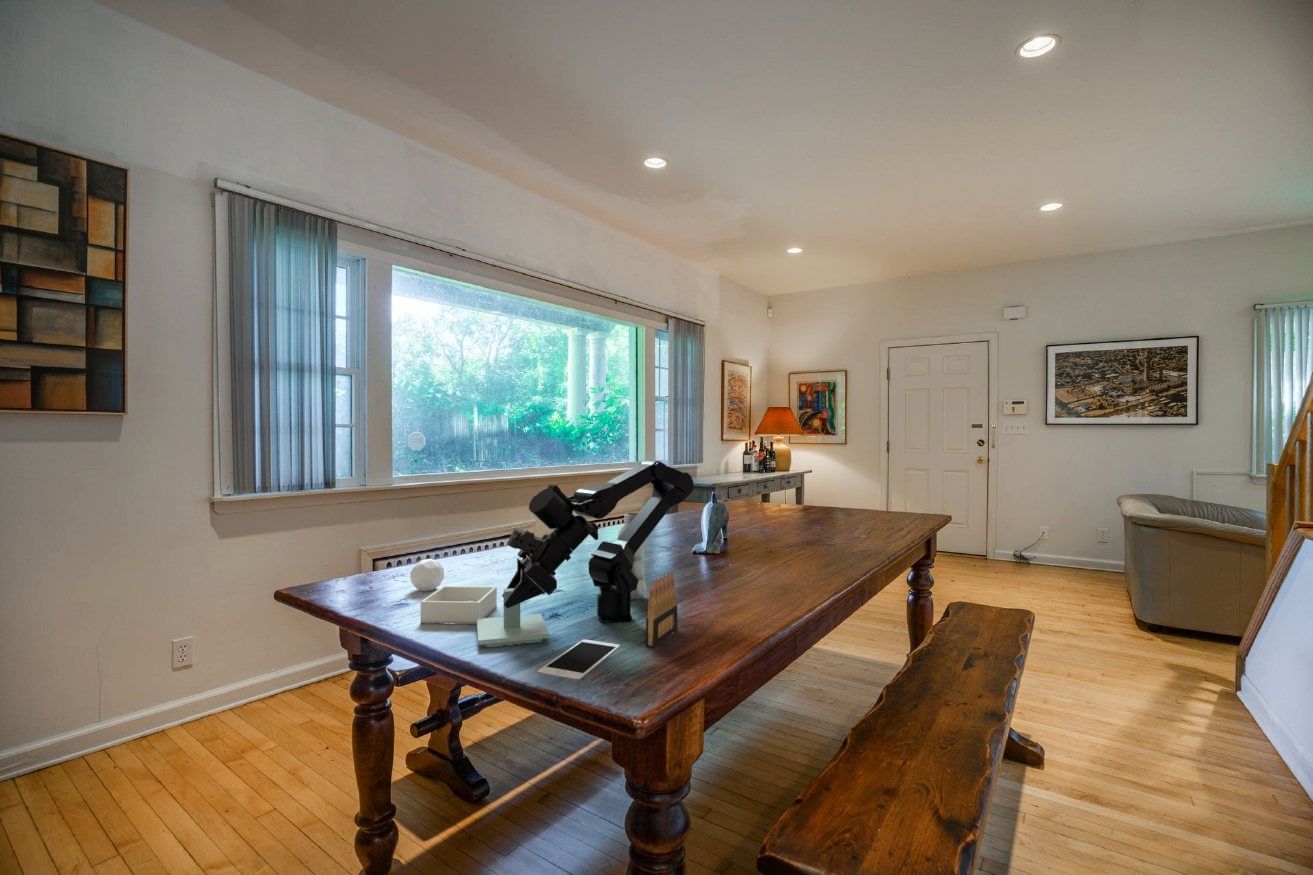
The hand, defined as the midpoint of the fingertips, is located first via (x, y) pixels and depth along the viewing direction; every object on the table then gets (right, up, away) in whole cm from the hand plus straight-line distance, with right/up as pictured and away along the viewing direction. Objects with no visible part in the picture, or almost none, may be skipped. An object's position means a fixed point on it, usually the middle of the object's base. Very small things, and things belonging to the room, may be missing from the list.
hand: (504, 602), depth 112 cm
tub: (-13, -6, +13) cm, 19 cm away
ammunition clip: (+30, -7, 0) cm, 31 cm away
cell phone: (+16, -7, -11) cm, 21 cm away
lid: (+1, -7, +1) cm, 7 cm away
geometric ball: (-27, -6, +32) cm, 43 cm away
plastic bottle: (+23, -7, +26) cm, 35 cm away
